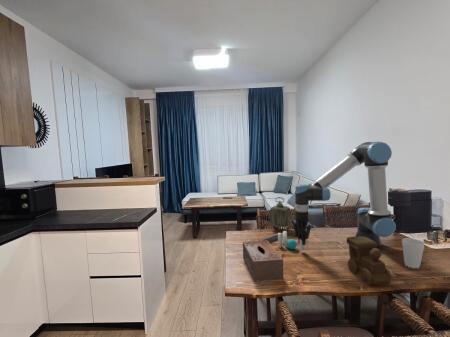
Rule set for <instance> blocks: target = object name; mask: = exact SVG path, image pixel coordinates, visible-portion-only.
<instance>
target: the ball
mask: <svg viewBox="0 0 450 337" xmlns="http://www.w3.org/2000/svg"><path fill="white" fill-rule="evenodd" d="M286 248H288V249H289V250H295V249H296V248H297V242H296V240H295V239H291V238H290V239H288V241H287V247H286Z"/></svg>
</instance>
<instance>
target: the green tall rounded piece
mask: <svg viewBox="0 0 450 337" xmlns="http://www.w3.org/2000/svg"><path fill="white" fill-rule="evenodd" d="M277 199H282V200H283V201H281V200H279V201H278V200H277ZM275 202H276V205H273V206H271V207H270V208H269V213H268V214H269V221H270V222H269V223H270V224H271V225H272V226H273V228H276V227H278V228H277V231H280V230H281V228H280V227H285V228H286V229H287V230H289V229H290V228H289V227H288V226H289V224H290V223H291V222H292V220H291V219H292V213H291V208H290V207H289V206H287V205H284V204H283V203H284V202H285V199H284V198H283V197H281V196H280V197H279V196H278V197H275Z"/></svg>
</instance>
